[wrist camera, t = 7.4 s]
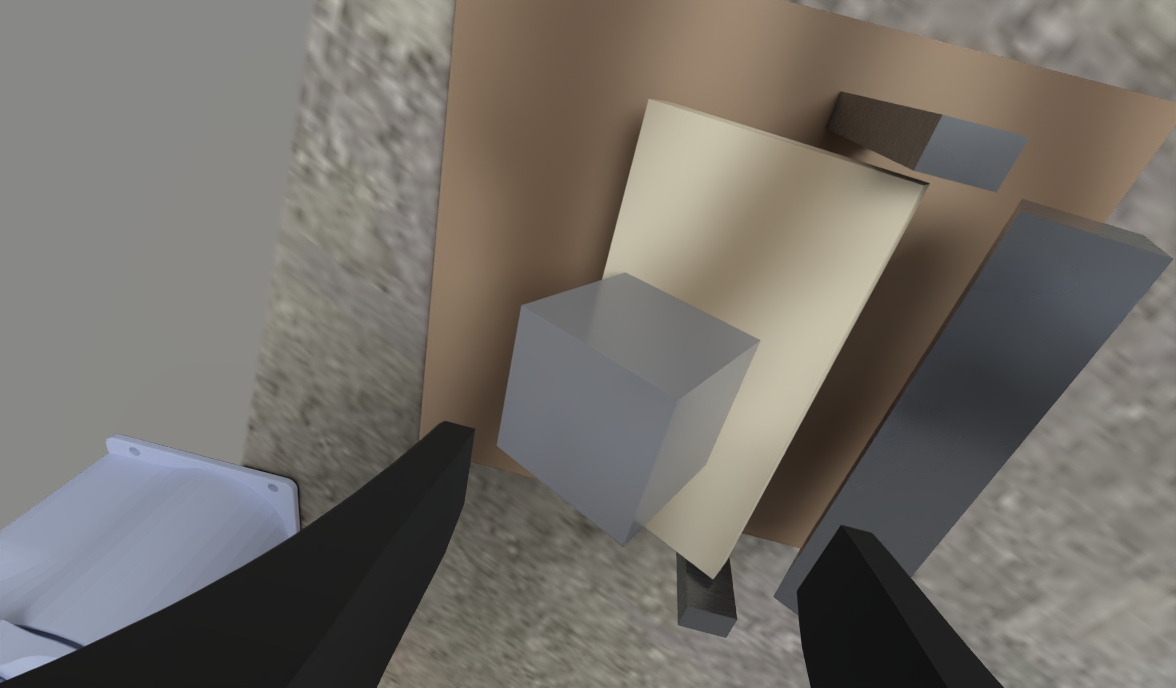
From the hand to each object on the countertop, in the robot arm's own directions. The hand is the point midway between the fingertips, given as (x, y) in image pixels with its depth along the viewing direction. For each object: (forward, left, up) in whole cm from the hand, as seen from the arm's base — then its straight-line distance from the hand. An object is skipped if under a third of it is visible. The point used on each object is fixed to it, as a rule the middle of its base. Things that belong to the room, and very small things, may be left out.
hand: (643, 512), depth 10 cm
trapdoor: (+5, 0, -9) cm, 10 cm away
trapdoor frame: (+2, 0, -10) cm, 11 cm away
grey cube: (+1, 0, -6) cm, 7 cm away
